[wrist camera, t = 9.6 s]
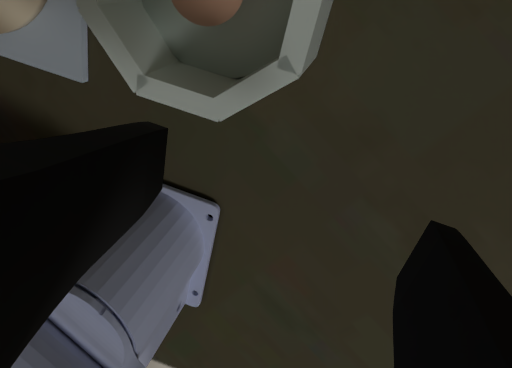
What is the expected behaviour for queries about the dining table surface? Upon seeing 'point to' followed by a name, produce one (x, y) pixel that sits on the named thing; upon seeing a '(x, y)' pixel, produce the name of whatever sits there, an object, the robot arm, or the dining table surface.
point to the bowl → (208, 50)
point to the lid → (18, 13)
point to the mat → (52, 41)
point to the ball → (207, 10)
